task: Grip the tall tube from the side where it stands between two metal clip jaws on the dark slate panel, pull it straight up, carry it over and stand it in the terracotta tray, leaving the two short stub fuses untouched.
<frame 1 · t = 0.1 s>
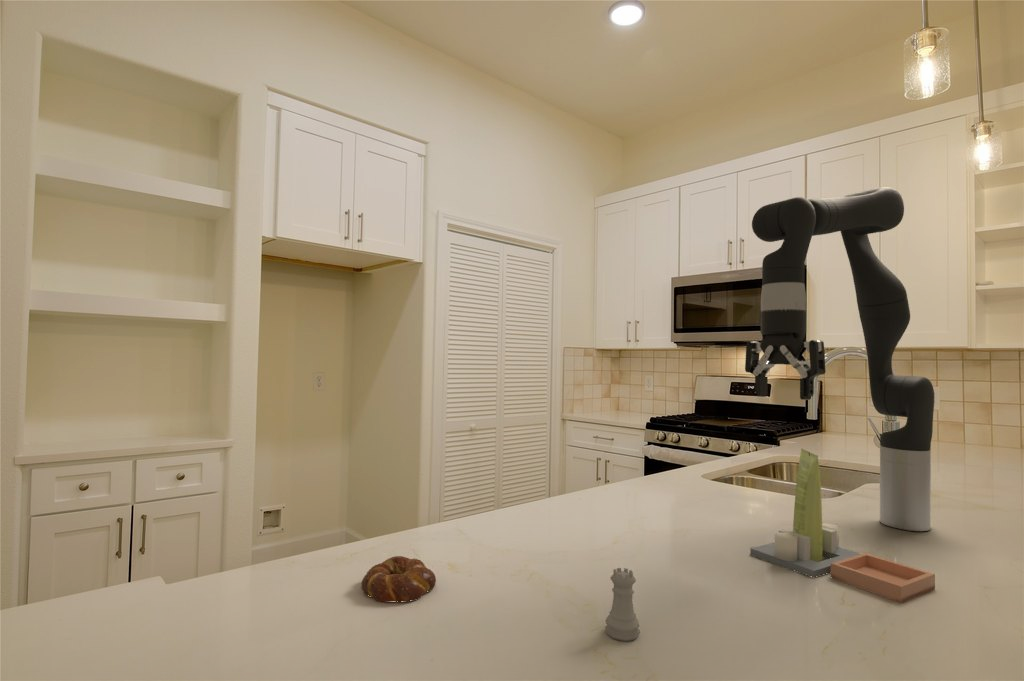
hand: (783, 397, 101), 29 cm above the counter, tool pointing down, fingers open, 8 cm apart
rook chess piece: (622, 635, 72), on the counter
tube: (807, 559, 101), resting in fuse panel
pretzel: (397, 590, 84), on the counter
tray: (881, 583, 90), on the counter
fuse panel: (807, 558, 101), on the counter
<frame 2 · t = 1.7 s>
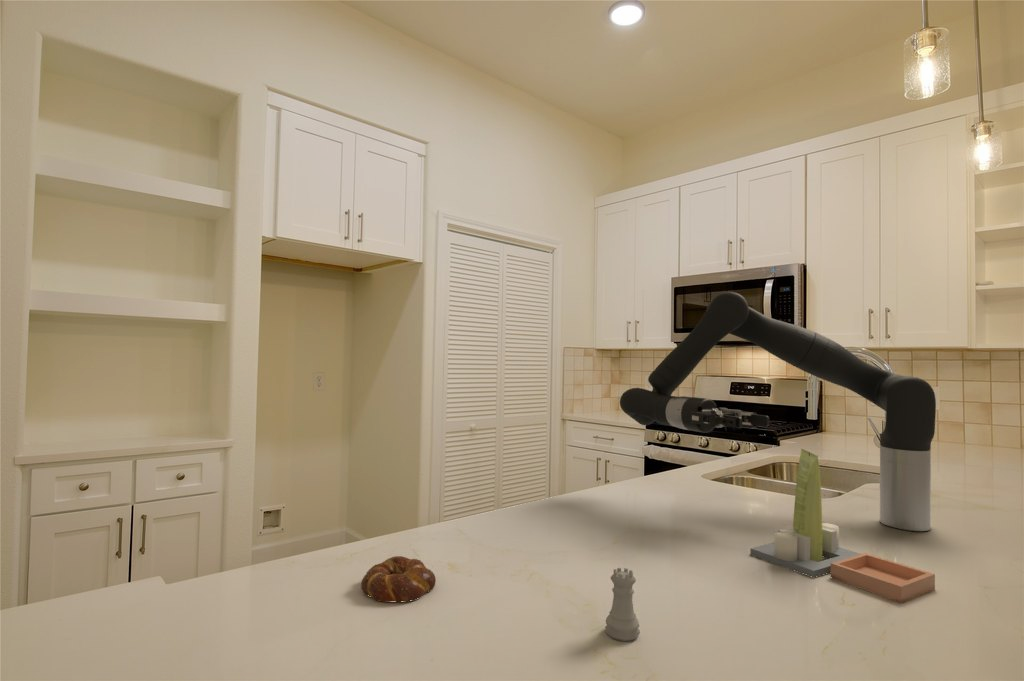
hand: (755, 422, 111), 24 cm above the counter, tool horizontal, fingers open, 8 cm apart
nothing on the counter moved.
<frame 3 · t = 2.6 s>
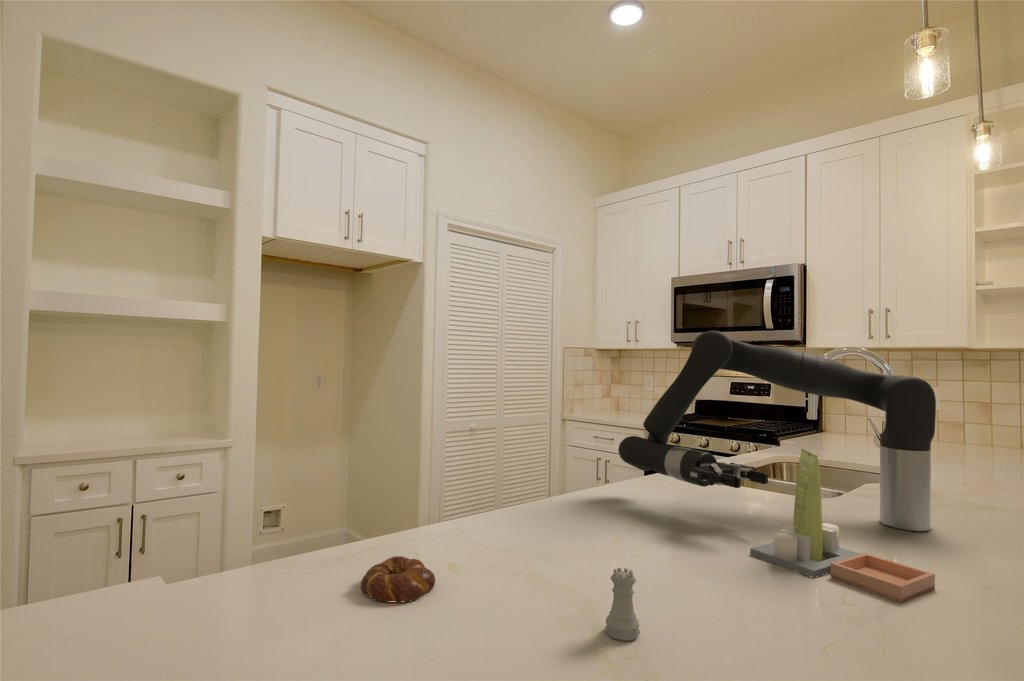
hand: (753, 480, 111), 12 cm above the counter, tool horizontal, fingers open, 8 cm apart
nothing on the counter moved.
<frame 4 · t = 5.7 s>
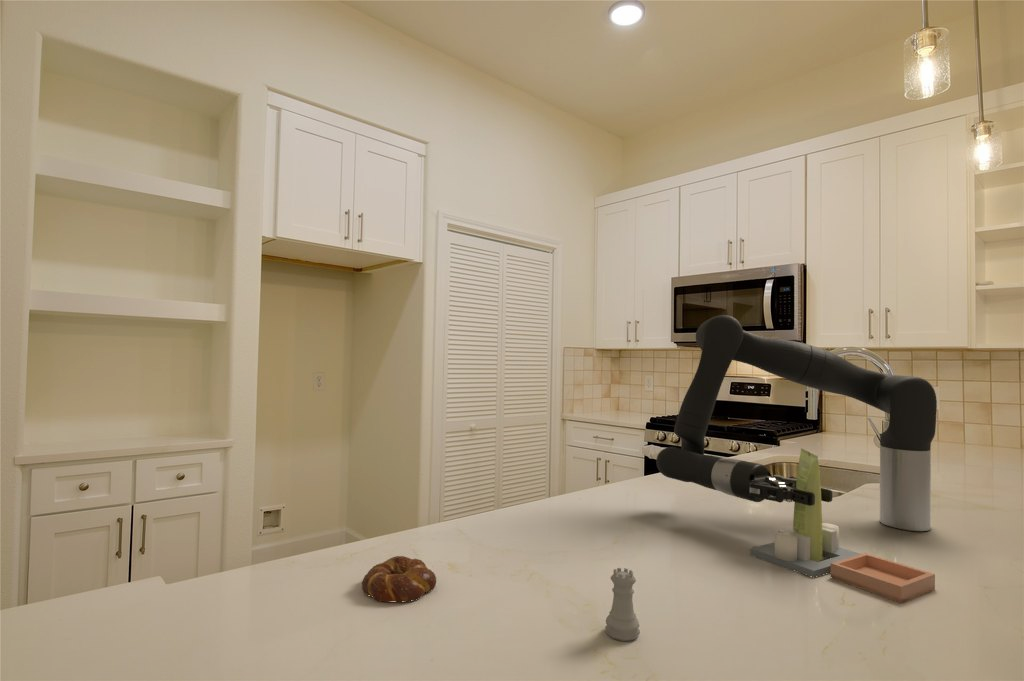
hand: (822, 497, 99), 12 cm above the counter, tool horizontal, fingers closed on tube, 5 cm apart
tube: (807, 559, 101), resting in fuse panel, touching gripper
everything else where it was.
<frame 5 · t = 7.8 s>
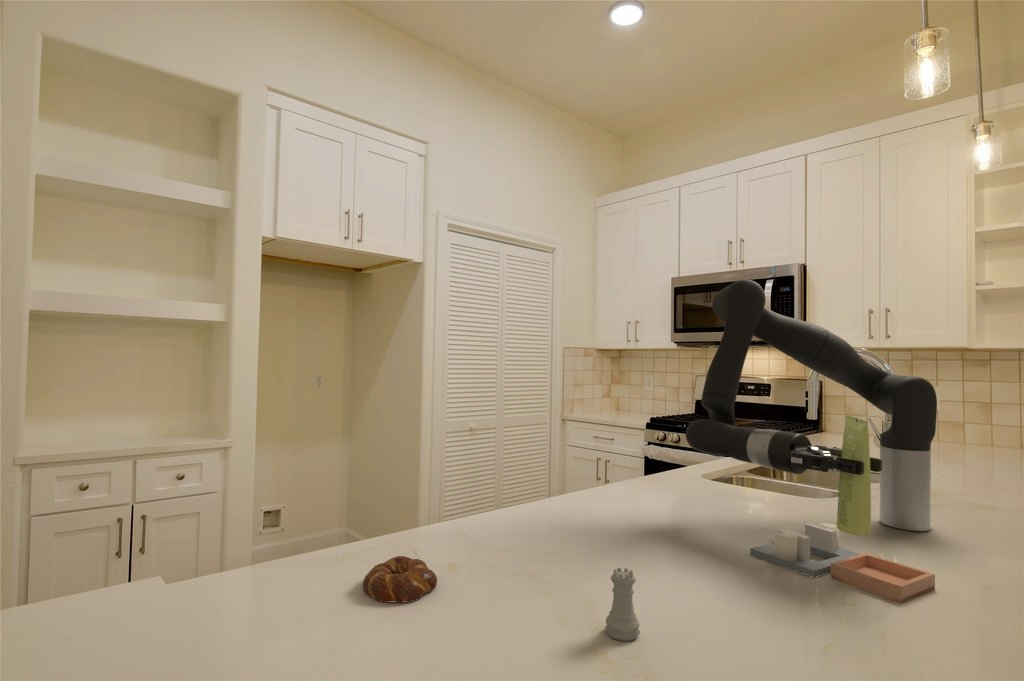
hand: (871, 467, 92), 19 cm above the counter, tool horizontal, fingers closed on tube, 5 cm apart
tube: (854, 533, 94), point 7 cm above the counter, touching gripper
everything else where it was.
when the fingers open (13 cm above the counter, at t = 9.7 s): tube stays where it is, resting on tray.
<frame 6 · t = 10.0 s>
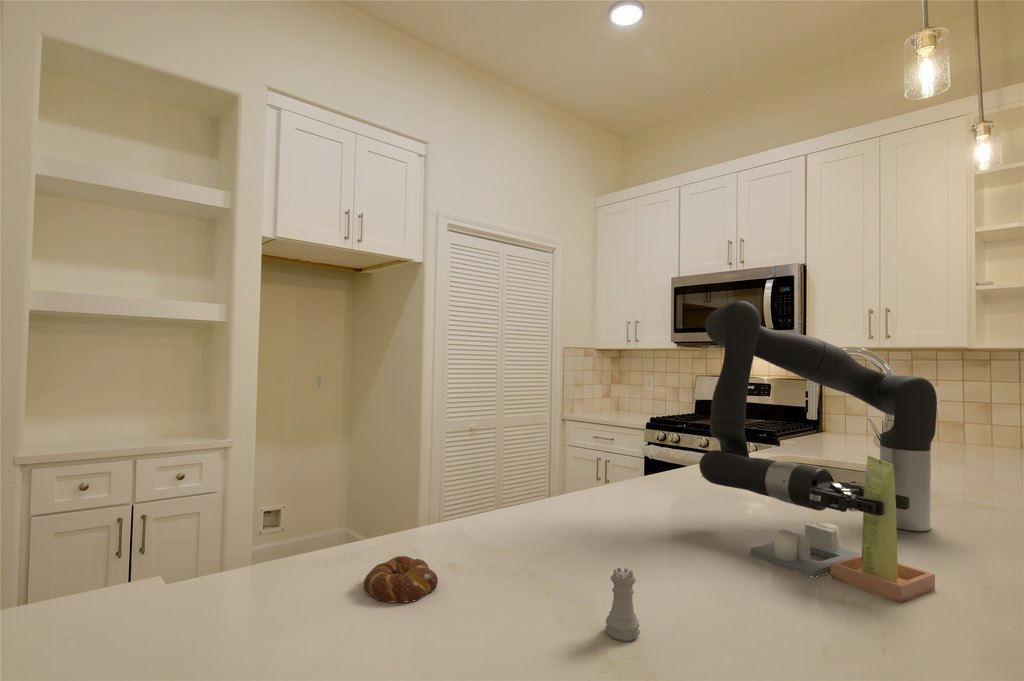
hand: (896, 506, 89), 13 cm above the counter, tool horizontal, fingers open, 7 cm apart
tube: (879, 580, 90), resting on tray
everything else where it was.
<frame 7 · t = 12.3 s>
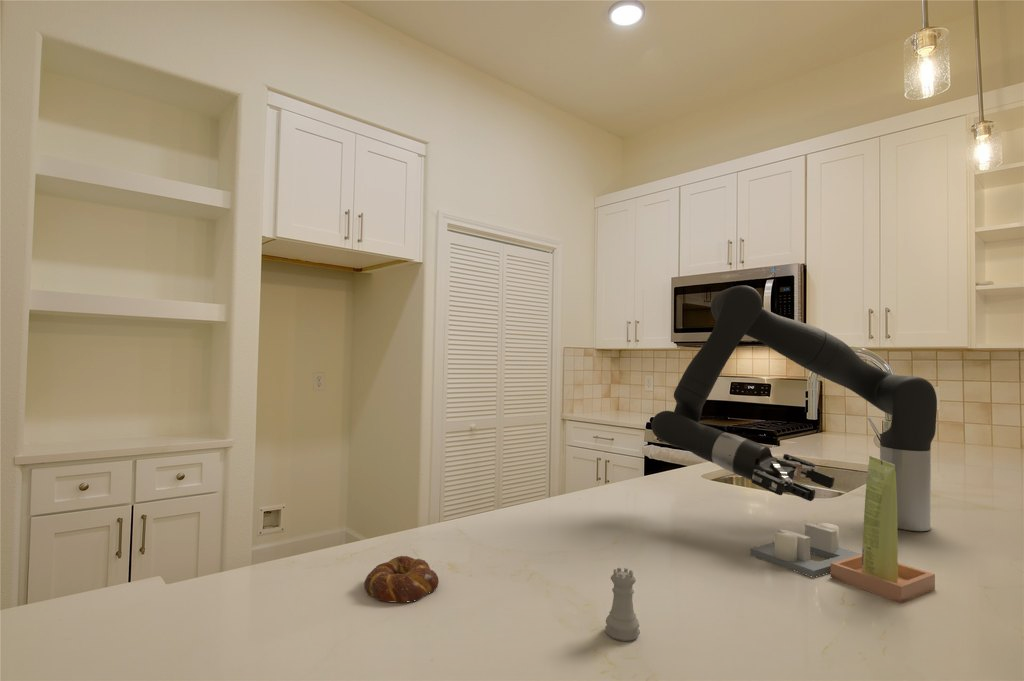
hand: (823, 489, 101), 12 cm above the counter, tool horizontal, fingers open, 8 cm apart
nothing on the counter moved.
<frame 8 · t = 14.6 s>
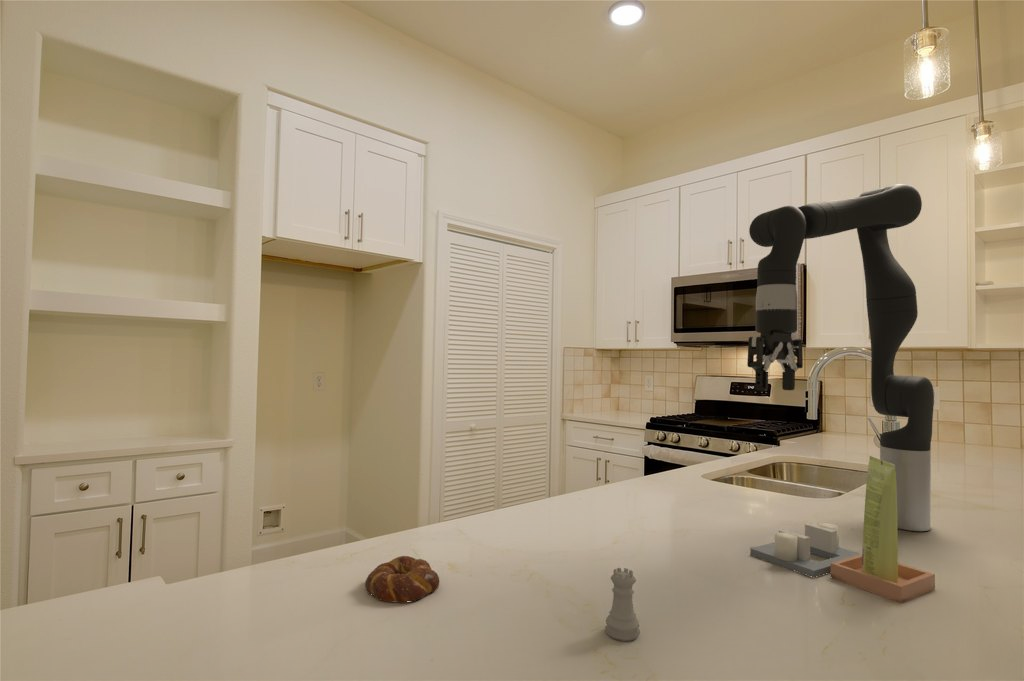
hand: (775, 390, 109), 30 cm above the counter, tool pointing down, fingers open, 8 cm apart
nothing on the counter moved.
at the end: tube inside the target area on the tray (0.2 cm from its centre), point 0.4 cm above the tray's base; tube tilted 0°; the gripper is holding nothing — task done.
